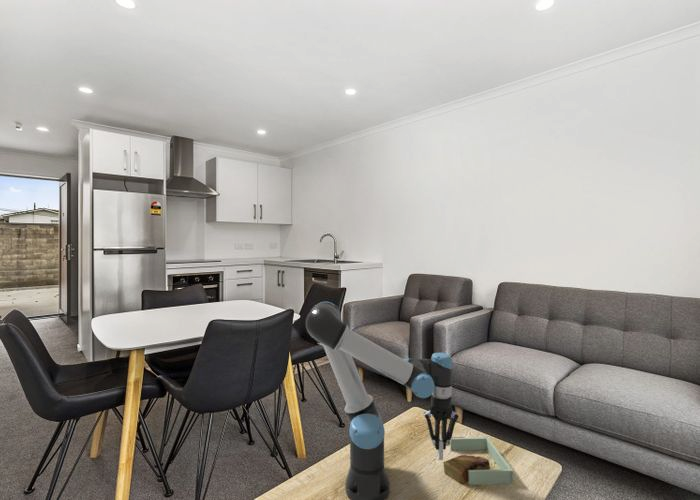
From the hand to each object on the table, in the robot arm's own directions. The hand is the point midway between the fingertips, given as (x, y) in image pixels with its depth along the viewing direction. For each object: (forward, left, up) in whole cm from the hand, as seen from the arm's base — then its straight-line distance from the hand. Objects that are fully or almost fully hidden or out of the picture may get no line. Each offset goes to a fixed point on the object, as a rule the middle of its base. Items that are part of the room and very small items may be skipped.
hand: (440, 457), depth 136 cm
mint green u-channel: (+15, 0, -3) cm, 15 cm away
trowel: (+8, +16, -3) cm, 18 cm away
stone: (+8, -5, -4) cm, 10 cm away
